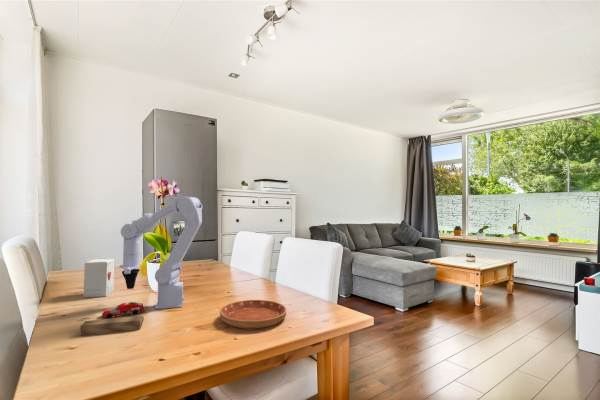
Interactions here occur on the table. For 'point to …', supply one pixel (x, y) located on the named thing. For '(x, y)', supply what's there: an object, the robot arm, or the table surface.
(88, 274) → the supplement box
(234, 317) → the saucer
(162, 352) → the table surface
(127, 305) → the race car
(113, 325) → the chock stand
